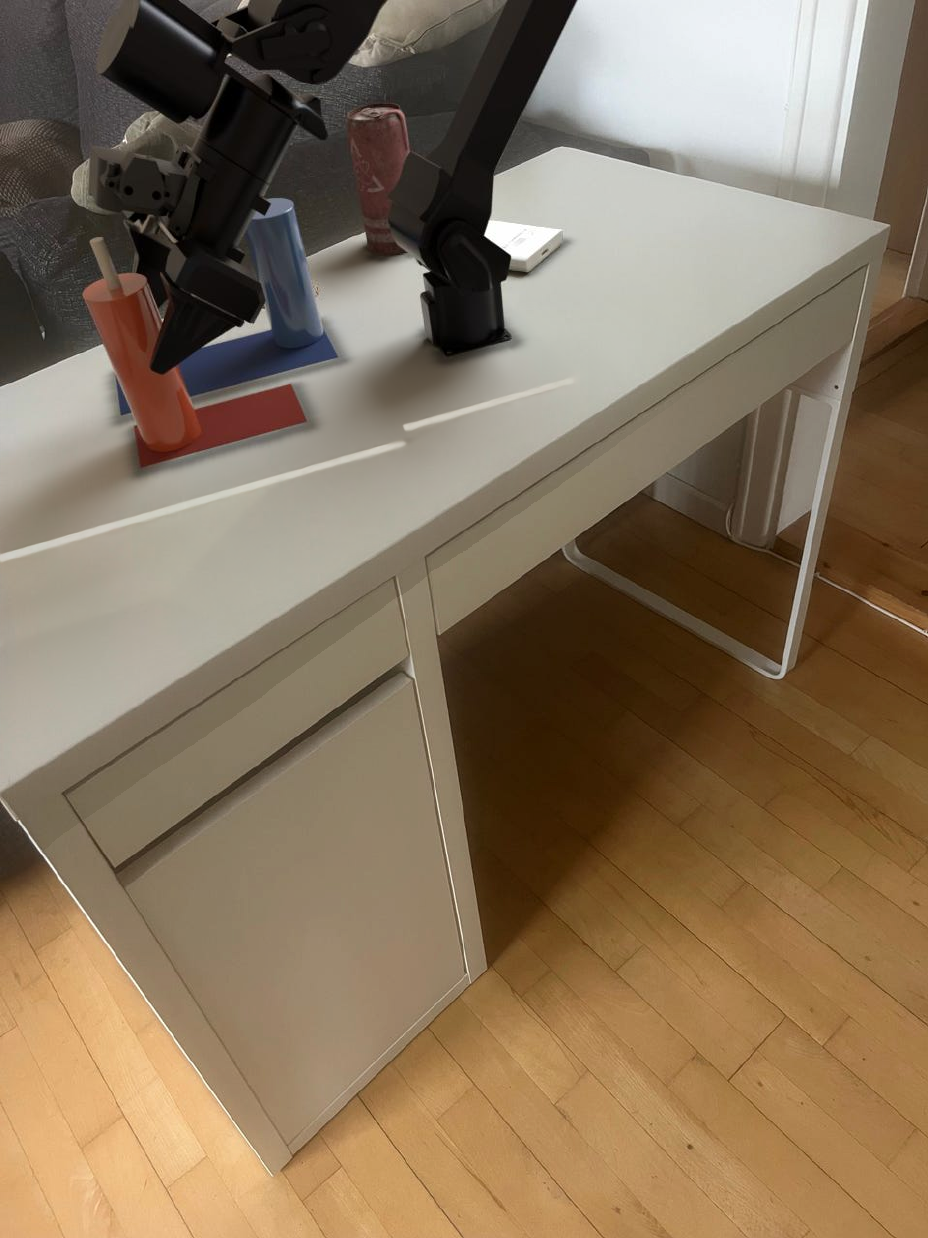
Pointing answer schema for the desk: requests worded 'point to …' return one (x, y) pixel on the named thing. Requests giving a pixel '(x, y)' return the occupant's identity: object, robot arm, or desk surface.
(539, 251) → the hard drive
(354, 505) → the desk surface
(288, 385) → the oxblood mat
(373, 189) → the can
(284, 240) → the slate blue jar
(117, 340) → the orange red candle
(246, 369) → the navy mat
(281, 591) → the desk surface
